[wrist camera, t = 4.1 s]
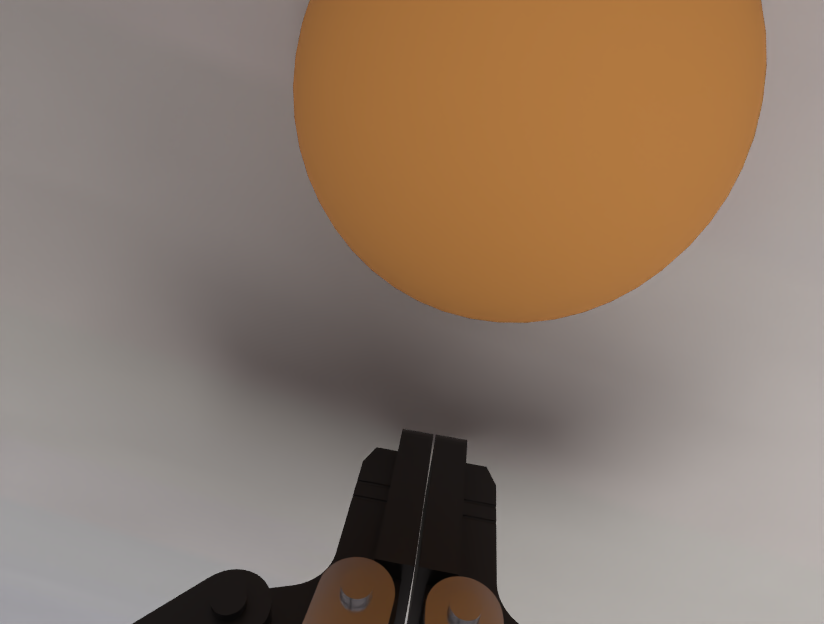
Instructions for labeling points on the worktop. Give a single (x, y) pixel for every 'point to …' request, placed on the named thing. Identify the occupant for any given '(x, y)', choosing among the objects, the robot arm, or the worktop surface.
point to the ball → (525, 140)
